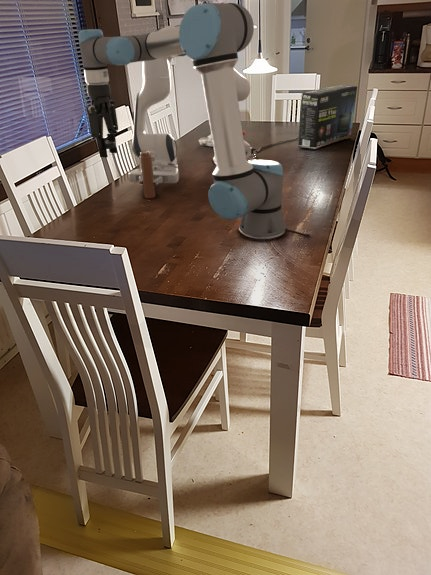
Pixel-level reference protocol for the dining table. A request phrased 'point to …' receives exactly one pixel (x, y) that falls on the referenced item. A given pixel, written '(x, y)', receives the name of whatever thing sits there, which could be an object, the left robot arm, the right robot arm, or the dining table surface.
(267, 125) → the dining table surface
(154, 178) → the left robot arm
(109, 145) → the lid
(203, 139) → the fossil
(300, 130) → the router box
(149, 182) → the jar
